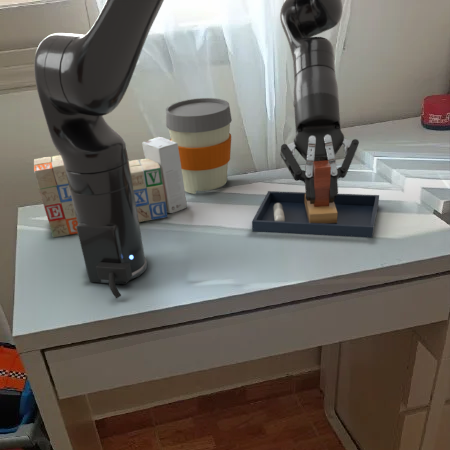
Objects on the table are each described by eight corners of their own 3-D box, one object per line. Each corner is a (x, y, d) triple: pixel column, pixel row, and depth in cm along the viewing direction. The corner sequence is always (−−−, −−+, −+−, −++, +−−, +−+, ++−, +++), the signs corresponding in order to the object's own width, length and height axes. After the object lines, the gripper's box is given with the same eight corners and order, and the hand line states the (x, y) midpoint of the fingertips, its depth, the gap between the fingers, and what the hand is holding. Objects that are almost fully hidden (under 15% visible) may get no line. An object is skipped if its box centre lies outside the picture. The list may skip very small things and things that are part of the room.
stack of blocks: (162, 205, 117) (153, 139, 109) (168, 218, 112) (158, 150, 104) (51, 224, 114) (33, 157, 106) (52, 238, 109) (32, 169, 101)
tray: (371, 242, 100) (373, 227, 98) (252, 235, 105) (251, 221, 103) (378, 209, 109) (379, 195, 108) (268, 204, 114) (268, 190, 112)
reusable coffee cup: (241, 175, 126) (237, 97, 117) (227, 198, 117) (221, 116, 108) (184, 173, 129) (176, 97, 120) (166, 197, 120) (155, 116, 111)
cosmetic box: (188, 207, 115) (180, 142, 108) (168, 215, 114) (159, 148, 106) (170, 198, 119) (161, 134, 111) (151, 205, 117) (141, 141, 110)
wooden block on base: (336, 228, 103) (339, 172, 96) (309, 230, 103) (310, 174, 97) (330, 206, 109) (332, 153, 103) (304, 208, 110) (305, 155, 104)
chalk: (277, 228, 105) (287, 224, 104) (273, 220, 104) (282, 215, 103) (275, 212, 110) (284, 207, 109) (271, 204, 109) (280, 199, 108)
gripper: (276, 93, 100) (281, 195, 99) (361, 87, 99) (368, 189, 98) (274, 118, 107) (280, 213, 106) (353, 112, 107) (360, 207, 105)
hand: (322, 201), depth 102 cm, fingers closed on wooden block on base, 2 cm apart
